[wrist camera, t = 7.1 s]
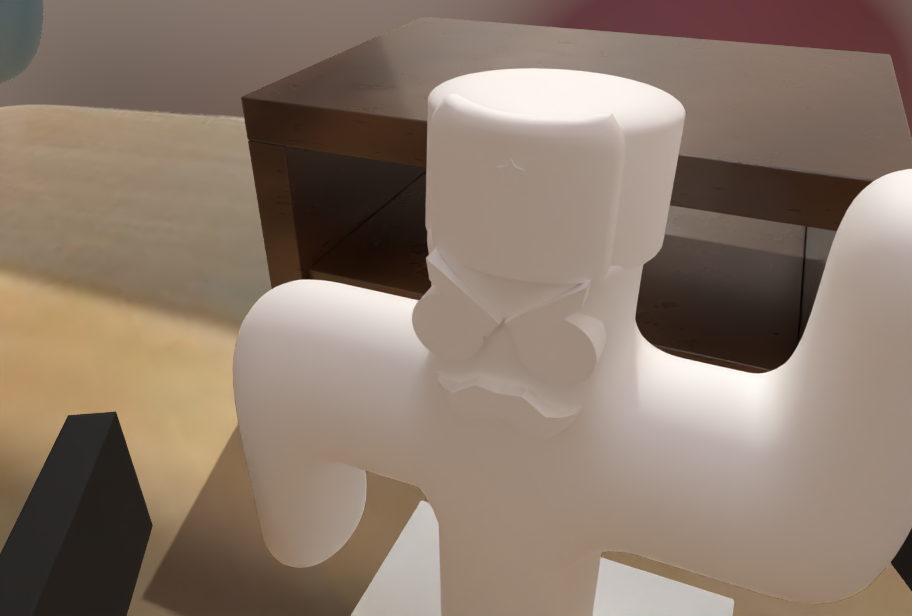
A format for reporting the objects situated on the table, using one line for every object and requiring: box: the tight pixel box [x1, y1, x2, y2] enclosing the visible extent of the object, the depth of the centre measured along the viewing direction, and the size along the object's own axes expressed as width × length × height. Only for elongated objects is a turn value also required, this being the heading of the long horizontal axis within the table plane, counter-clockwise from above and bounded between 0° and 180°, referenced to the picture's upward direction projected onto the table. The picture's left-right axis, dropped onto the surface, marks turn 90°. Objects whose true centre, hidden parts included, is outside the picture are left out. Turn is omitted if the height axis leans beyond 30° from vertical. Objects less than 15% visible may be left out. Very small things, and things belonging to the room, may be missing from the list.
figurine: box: [233, 68, 912, 616], centre depth 12 cm, size 7×9×15 cm
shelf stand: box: [241, 17, 912, 374], centre depth 29 cm, size 20×14×10 cm
